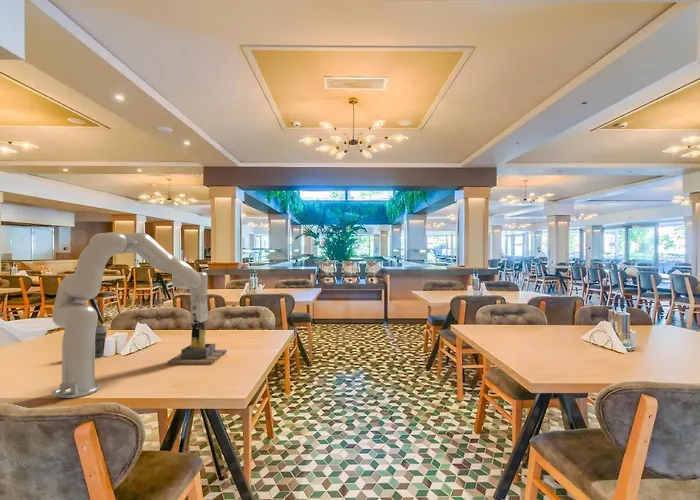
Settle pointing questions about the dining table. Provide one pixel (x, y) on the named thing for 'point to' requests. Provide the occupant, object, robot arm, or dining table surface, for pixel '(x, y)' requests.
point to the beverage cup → (100, 341)
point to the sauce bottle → (199, 341)
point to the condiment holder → (197, 356)
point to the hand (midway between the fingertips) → (198, 335)
